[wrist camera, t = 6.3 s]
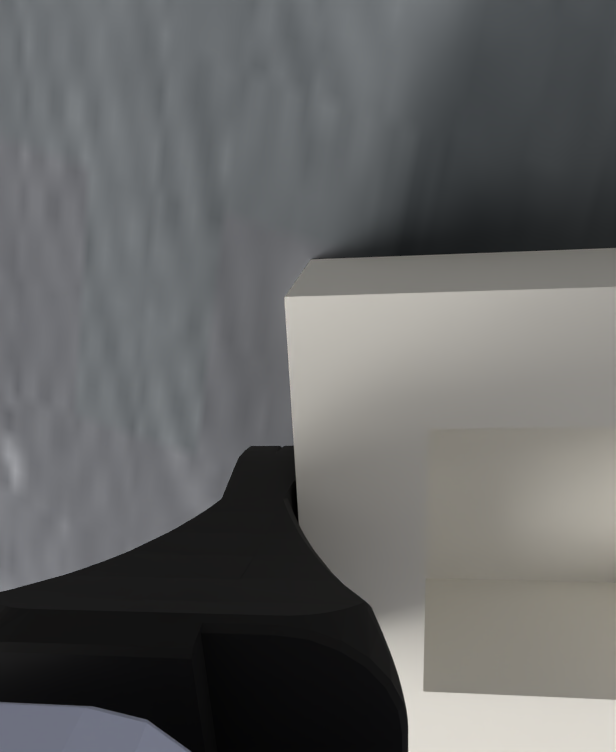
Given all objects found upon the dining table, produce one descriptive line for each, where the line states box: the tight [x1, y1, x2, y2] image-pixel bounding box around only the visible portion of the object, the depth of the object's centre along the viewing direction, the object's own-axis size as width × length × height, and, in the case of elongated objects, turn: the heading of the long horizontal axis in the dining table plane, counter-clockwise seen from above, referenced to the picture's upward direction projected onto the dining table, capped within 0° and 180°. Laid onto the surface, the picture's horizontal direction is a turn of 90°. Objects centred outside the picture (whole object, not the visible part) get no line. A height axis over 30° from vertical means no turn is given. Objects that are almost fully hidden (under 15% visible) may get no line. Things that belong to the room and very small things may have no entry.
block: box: [284, 248, 616, 752], centre depth 11 cm, size 9×9×4 cm
